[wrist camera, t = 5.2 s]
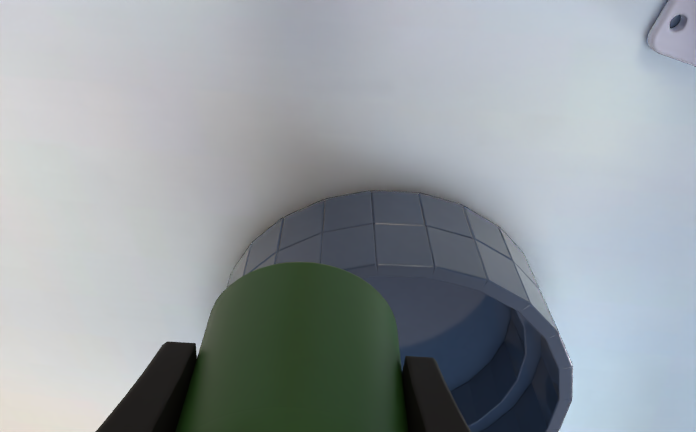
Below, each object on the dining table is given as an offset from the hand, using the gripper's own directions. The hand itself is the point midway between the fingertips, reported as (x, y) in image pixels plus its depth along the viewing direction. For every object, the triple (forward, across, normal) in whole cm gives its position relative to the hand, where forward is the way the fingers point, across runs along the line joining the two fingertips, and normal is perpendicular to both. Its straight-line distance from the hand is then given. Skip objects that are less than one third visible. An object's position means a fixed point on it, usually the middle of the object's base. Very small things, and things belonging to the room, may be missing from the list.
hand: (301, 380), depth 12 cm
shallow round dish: (+10, -3, +7) cm, 13 cm away
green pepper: (+1, 0, 0) cm, 1 cm away
